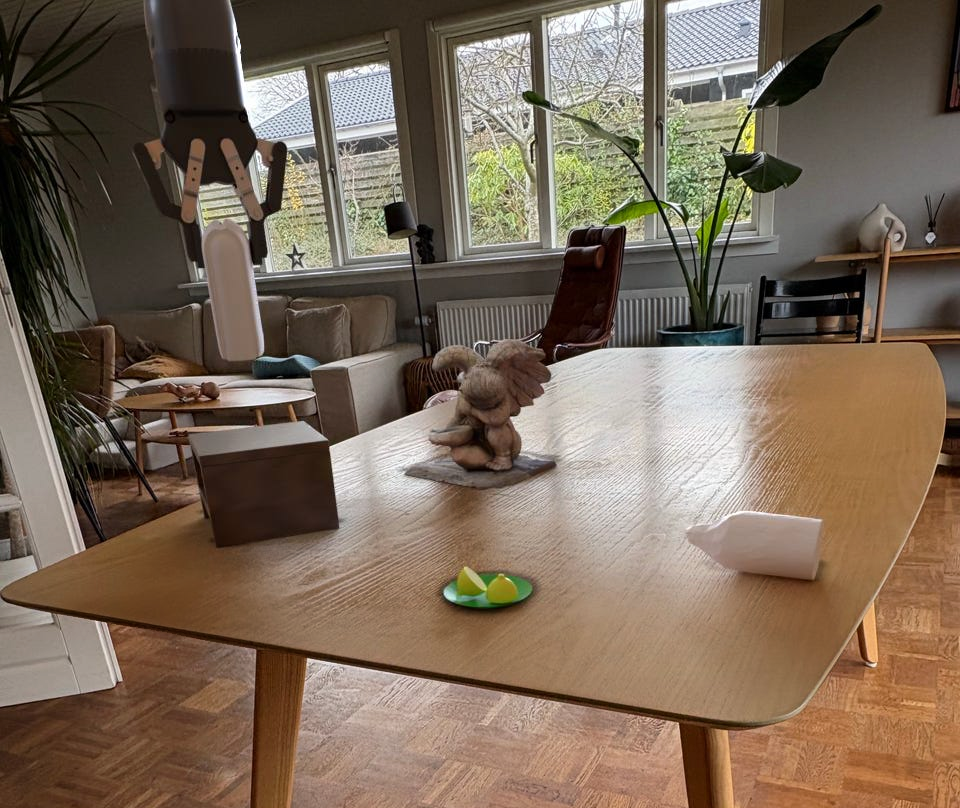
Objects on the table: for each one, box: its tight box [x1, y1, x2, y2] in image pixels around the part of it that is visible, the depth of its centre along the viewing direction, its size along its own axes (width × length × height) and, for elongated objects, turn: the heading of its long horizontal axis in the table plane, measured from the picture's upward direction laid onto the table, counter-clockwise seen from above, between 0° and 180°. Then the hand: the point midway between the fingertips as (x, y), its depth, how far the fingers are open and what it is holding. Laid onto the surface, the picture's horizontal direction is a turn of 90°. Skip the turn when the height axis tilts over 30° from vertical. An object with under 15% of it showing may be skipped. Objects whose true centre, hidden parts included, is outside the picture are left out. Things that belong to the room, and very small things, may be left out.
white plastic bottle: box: [684, 510, 825, 581], centre depth 77 cm, size 6×12×6 cm, turn 63°
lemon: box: [443, 566, 533, 610], centre depth 75 cm, size 8×8×3 cm
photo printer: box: [201, 218, 265, 362], centre depth 81 cm, size 10×4×12 cm, turn 12°
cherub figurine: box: [403, 338, 557, 490], centre depth 116 cm, size 18×18×18 cm
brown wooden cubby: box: [187, 420, 340, 548], centre depth 99 cm, size 14×14×10 cm
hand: (229, 265), depth 80 cm, fingers closed on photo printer, 4 cm apart
